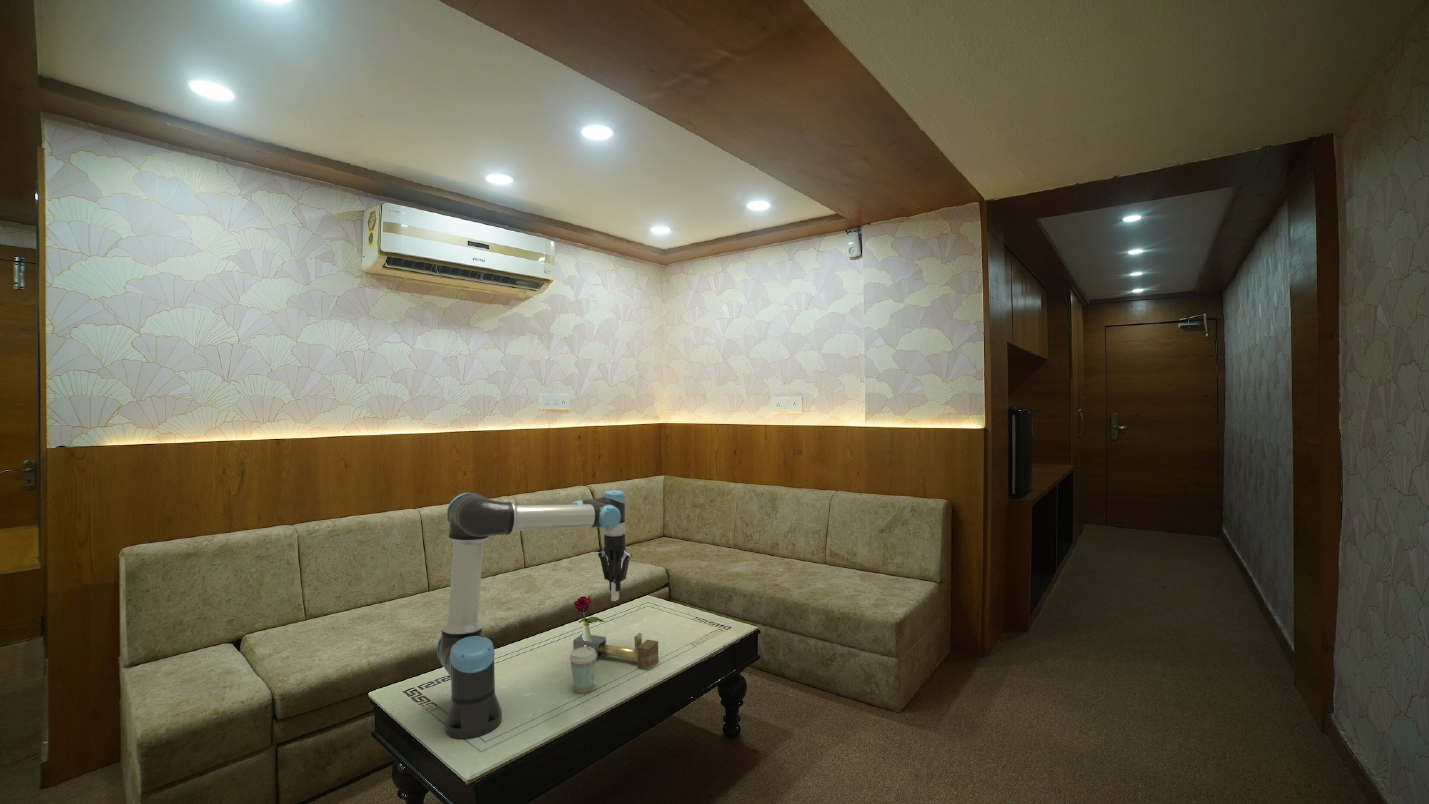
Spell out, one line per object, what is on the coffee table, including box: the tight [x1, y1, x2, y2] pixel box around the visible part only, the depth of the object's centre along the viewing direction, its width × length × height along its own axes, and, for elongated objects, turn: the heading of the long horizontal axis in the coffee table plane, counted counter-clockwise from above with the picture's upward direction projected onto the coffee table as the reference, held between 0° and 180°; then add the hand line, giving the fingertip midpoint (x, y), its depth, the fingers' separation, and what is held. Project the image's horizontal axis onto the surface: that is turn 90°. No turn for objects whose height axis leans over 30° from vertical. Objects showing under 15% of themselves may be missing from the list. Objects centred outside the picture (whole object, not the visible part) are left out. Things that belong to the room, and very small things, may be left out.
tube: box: [598, 632, 643, 663], centre depth 213 cm, size 23×3×9 cm, turn 69°
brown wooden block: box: [637, 639, 659, 671], centre depth 209 cm, size 4×7×7 cm, turn 159°
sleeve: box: [572, 633, 607, 662], centre depth 217 cm, size 10×6×6 cm, turn 69°
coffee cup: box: [569, 647, 597, 694], centre depth 192 cm, size 9×8×12 cm
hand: (615, 599), depth 215 cm, fingers closed
